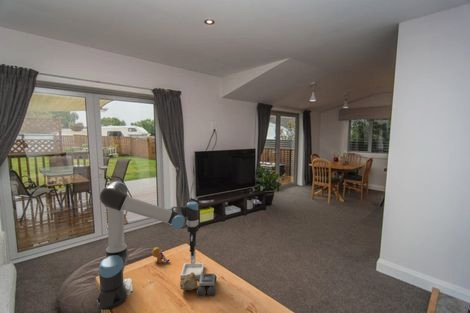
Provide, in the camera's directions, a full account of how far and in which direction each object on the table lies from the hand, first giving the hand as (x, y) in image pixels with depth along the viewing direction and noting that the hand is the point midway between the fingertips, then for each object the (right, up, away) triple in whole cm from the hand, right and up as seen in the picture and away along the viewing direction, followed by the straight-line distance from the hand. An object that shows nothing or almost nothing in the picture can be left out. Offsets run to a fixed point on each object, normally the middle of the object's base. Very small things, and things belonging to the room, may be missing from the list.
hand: (193, 258), depth 151 cm
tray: (0, -10, +1) cm, 11 cm away
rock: (-1, -12, -14) cm, 18 cm away
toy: (-27, -9, +14) cm, 32 cm away
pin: (0, -4, 0) cm, 4 cm away
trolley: (+11, -12, -14) cm, 22 cm away
